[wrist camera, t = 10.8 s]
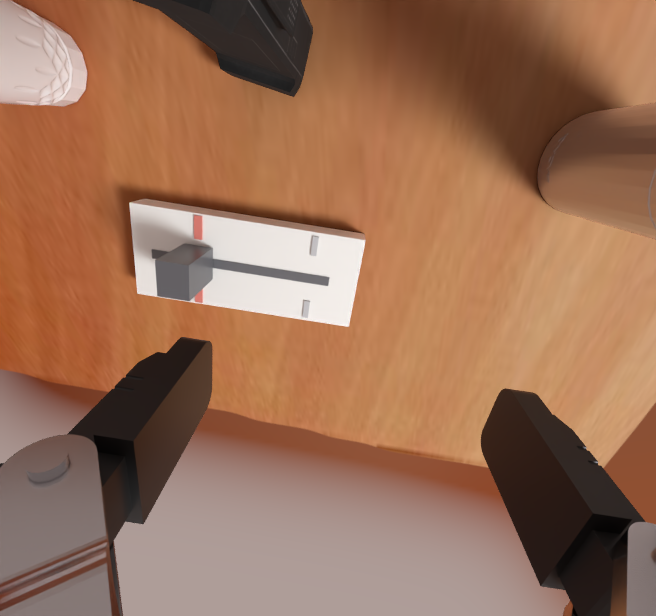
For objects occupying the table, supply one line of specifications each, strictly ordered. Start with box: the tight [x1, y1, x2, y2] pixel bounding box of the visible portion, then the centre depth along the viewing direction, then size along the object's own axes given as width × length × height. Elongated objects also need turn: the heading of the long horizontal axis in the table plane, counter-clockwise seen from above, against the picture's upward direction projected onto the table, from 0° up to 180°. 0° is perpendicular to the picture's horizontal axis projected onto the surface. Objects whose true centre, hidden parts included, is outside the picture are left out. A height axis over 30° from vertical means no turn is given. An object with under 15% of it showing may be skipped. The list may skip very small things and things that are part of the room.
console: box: [129, 199, 366, 327], centre depth 38 cm, size 24×10×3 cm, turn 82°
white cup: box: [0, 0, 87, 106], centre depth 28 cm, size 8×8×10 cm
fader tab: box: [155, 243, 213, 301], centre depth 34 cm, size 3×4×6 cm
